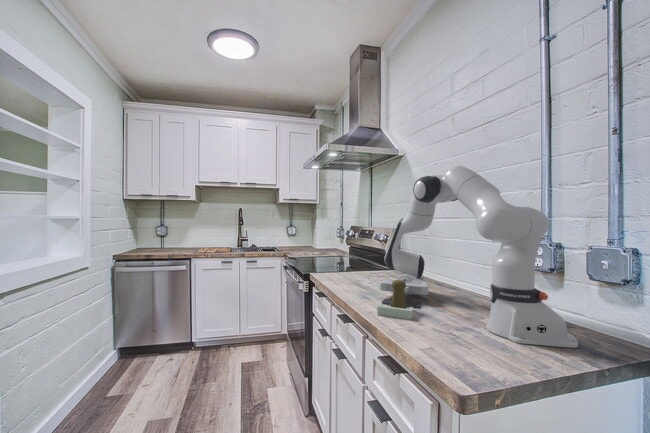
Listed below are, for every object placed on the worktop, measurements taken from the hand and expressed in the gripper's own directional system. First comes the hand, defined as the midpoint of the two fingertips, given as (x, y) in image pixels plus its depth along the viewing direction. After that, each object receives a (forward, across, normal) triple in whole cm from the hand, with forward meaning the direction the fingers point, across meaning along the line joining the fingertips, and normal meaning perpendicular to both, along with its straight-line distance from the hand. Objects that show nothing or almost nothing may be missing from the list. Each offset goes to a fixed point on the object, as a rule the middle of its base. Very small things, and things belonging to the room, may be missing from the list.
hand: (401, 291), depth 118 cm
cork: (+6, 0, +6) cm, 9 cm away
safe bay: (+15, 0, +5) cm, 16 cm away
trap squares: (-1, 0, +5) cm, 6 cm away
